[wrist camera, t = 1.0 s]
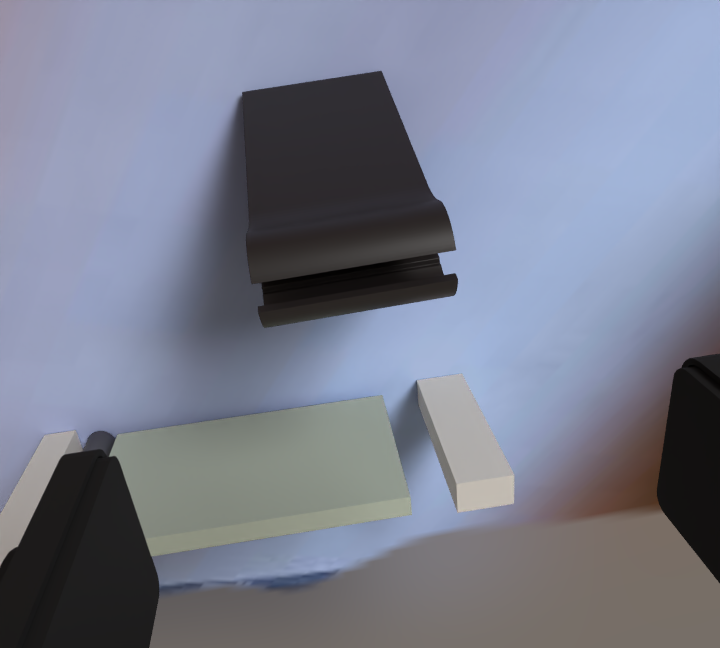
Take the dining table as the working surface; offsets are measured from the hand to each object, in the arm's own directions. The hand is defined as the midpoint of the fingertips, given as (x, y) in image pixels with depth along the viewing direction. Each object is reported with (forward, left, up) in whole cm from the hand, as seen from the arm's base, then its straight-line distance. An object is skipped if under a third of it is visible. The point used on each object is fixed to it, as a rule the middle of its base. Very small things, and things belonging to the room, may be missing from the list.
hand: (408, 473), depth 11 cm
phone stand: (0, 0, -21) cm, 21 cm away
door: (+6, +12, -20) cm, 24 cm away
